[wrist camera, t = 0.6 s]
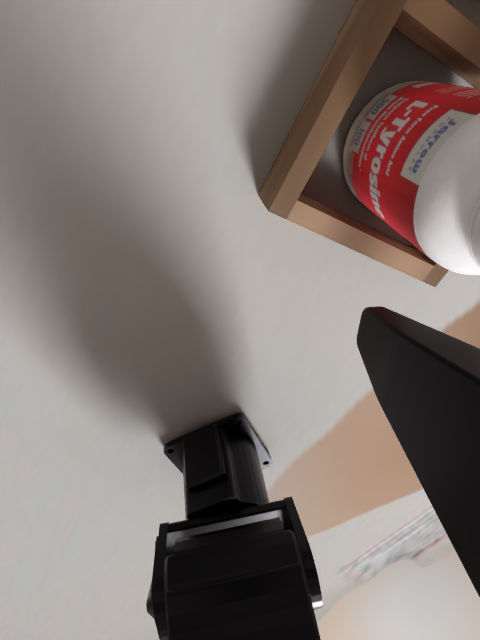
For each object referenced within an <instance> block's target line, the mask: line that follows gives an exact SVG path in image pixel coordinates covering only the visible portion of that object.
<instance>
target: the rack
mask: <svg viewBox="0 0 480 640" xmlns="http://www.w3.org/2000/svg"><path fill="white" fill-rule="evenodd" d="M393 27H394V28H396V29H397V30H398V31H400V32H401V33H402V34H404V35H405V36H406V37H408V38H409V39H410V40H412V41H413V42H414V43H416V44H417V45H419V46H420V47H421V48H423V49H424V50H425V51H427V52H428V53H429V54H431V55H432V56H433V57H435V58H436V59H437V60H439V61H440V62H441V63H443V64H444V65H445V66H447V67H448V68H449V69H451V70H452V71H453V72H455V73H456V74H458V75H459V76H460V77H462V78H463V79H464V80H466V81H467V82H468V83H470V84H471V85H472V86H474V87H475V88H476V89H480V29H479V28H478V27H477V26H476V25H475V24H473V23H472V22H471V21H470V20H469V19H467V18H466V17H465V16H464V15H463V14H461V13H460V12H459V11H458V10H456V9H455V8H454V7H453V6H452V5H450V4H449V3H448V2H447V1H446V0H356V2H355V4H354V6H353V8H352V10H351V12H350V14H349V16H348V18H347V20H346V22H345V24H344V26H343V28H342V30H341V32H340V34H339V36H338V38H337V40H336V42H335V44H334V46H333V48H332V50H331V52H330V54H329V56H328V58H327V60H326V62H325V64H324V66H323V68H322V70H321V72H320V74H319V76H318V78H317V80H316V81H315V83H314V85H313V87H312V89H311V91H310V93H309V95H308V97H307V99H306V101H305V103H304V105H303V107H302V109H301V111H300V113H299V115H298V117H297V119H296V121H295V123H294V125H293V127H292V129H291V131H290V133H289V135H288V137H287V139H286V141H285V143H284V145H283V147H282V149H281V151H280V153H279V155H278V157H277V159H276V161H275V163H274V165H273V167H272V169H271V171H270V173H269V175H268V176H267V178H266V180H265V182H264V184H263V186H262V188H261V190H260V192H259V194H258V196H259V197H260V199H261V200H262V202H263V203H264V205H265V206H266V208H267V210H268V211H269V212H271V213H274V214H276V215H278V216H280V217H282V218H285V219H287V220H289V221H291V222H293V223H296V224H298V225H300V226H302V227H304V228H307V229H309V230H311V231H313V232H315V233H318V234H320V235H322V236H324V237H326V238H329V239H331V240H333V241H335V242H337V243H339V244H342V245H344V246H346V247H348V248H350V249H353V250H355V251H357V252H359V253H361V254H364V255H366V256H368V257H370V258H372V259H375V260H377V261H379V262H381V263H383V264H386V265H388V266H390V267H392V268H394V269H396V270H399V271H401V272H403V273H405V274H407V275H410V276H412V277H414V278H416V279H418V280H421V281H423V282H425V283H427V284H429V285H432V286H434V287H436V286H437V284H438V283H439V282H440V281H441V279H442V278H443V277H444V276H445V274H446V273H447V272H448V271H449V270H448V269H446V268H444V267H442V266H440V265H439V264H437V263H436V262H434V261H433V260H432V259H430V258H429V257H428V256H426V255H425V254H424V253H423V252H421V251H420V250H419V249H418V248H417V247H415V246H414V245H413V246H412V248H411V247H409V246H407V245H405V244H403V243H401V242H399V241H397V240H395V239H393V238H391V237H389V236H387V235H384V234H382V233H380V232H378V231H376V230H374V229H372V228H370V227H368V226H366V225H364V224H362V223H360V222H358V221H356V220H354V219H352V218H350V217H348V216H346V215H344V214H342V213H340V212H338V211H336V210H334V209H332V208H329V207H327V206H325V205H323V204H321V203H319V202H317V201H315V200H313V199H311V198H309V197H307V196H305V195H303V194H301V192H302V190H303V189H304V187H305V185H306V183H307V181H308V180H309V178H310V176H311V174H312V172H313V171H314V169H315V167H316V165H317V163H318V162H319V160H320V158H321V156H322V154H323V153H324V151H325V149H326V147H327V145H328V144H329V142H330V140H331V138H332V136H333V135H334V133H335V131H336V129H337V127H338V125H339V124H340V122H341V120H342V118H343V116H344V115H345V113H346V111H347V109H348V107H349V106H350V104H351V102H352V100H353V98H354V97H355V95H356V93H357V91H358V89H359V88H360V86H361V84H362V82H363V80H364V79H365V77H366V75H367V73H368V71H369V70H370V68H371V66H372V64H373V62H374V61H375V59H376V57H377V55H378V53H379V51H380V50H381V48H382V46H383V44H384V42H385V41H386V39H387V37H388V35H389V33H390V32H391V30H392V28H393Z"/></svg>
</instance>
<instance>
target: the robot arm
mask: <svg viewBox="0 0 480 640" xmlns="http://www.w3.org/2000/svg"><path fill="white" fill-rule="evenodd" d="M357 346H358V349H359V351H360V354H361V357H362V359H363V362H364V365H365V367H366V370H367V373H368V375H369V378H370V381H371V383H372V386H373V389H374V391H375V394H376V396H377V399H378V401H379V403H380V405H381V407H382V408H383V411H384V413H385V415H386V417H387V418H388V420H389V422H390V424H391V426H392V428H393V430H394V432H395V434H396V436H397V438H398V440H399V442H400V444H401V446H402V448H403V450H404V452H405V453H406V455H407V457H408V459H409V461H410V463H411V465H412V467H413V469H414V471H415V472H416V475H417V477H418V479H419V481H420V483H421V484H422V486H423V488H424V490H425V492H426V494H427V496H428V498H429V500H430V502H431V504H432V506H433V508H434V510H435V512H436V514H437V516H438V517H439V519H440V521H441V523H442V525H443V527H444V529H445V531H446V533H447V535H448V537H449V539H450V541H451V543H452V545H453V547H454V549H455V550H456V552H457V554H458V556H459V558H460V560H461V562H462V564H463V566H464V568H465V570H466V572H467V574H468V576H469V578H470V579H471V581H472V583H473V585H474V587H475V589H476V591H477V593H478V595H479V597H480V349H479V348H477V347H475V346H472V345H470V344H467V343H465V342H463V341H461V340H458V339H456V338H454V337H451V336H449V335H447V334H445V333H442V332H440V331H438V330H435V329H433V328H431V327H428V326H426V325H424V324H421V323H419V322H417V321H414V320H412V319H410V318H407V317H405V316H403V315H401V314H398V313H396V312H394V311H391V310H389V309H387V308H384V307H380V306H379V307H367V308H365V309H364V310H363V312H362V315H361V320H360V324H359V329H358V334H357ZM237 420H238V421H237ZM164 454H165V455H166V456H167V457H168V458H169V459H170V460H171V461H172V463H173V464H174V465H175V466H176V467H177V468H178V469H179V470H180V471H181V472H182V474H183V476H184V494H185V513H186V520H184V521H179V522H174V523H169V522H167V523H162V524H160V528H159V536H157V539H156V542H155V558H154V567H153V577H152V582H151V586H150V590H149V594H148V598H147V612H148V613H149V614H150V615H151V616H152V617H153V618H154V619H155V623H156V627H157V631H158V635H159V639H160V640H320V636H319V631H318V627H317V622H316V618H315V614H314V610H315V609H319V608H322V596H321V590H320V584H319V579H318V575H317V571H316V566H315V563H314V559H313V555H312V552H311V549H310V546H309V543H308V540H307V537H306V535H305V532H304V529H303V526H302V524H301V521H300V519H299V515H298V513H297V510H296V507H295V505H294V502H293V499H292V497H287V498H284V500H280V501H275V502H271V503H269V499H268V495H267V491H266V487H265V482H264V478H263V474H262V470H261V469H263V468H265V467H268V466H270V465H271V464H272V460H271V456H270V455H269V453H268V452H267V450H266V449H265V447H264V446H263V444H262V442H261V441H260V439H259V438H258V436H257V435H256V433H255V432H254V430H253V429H252V427H251V425H250V424H249V422H248V421H247V419H246V418H245V416H244V415H243V414H241V413H237V414H234V415H232V416H229V417H227V418H225V419H222V420H220V421H218V422H215V423H213V424H211V425H208V426H206V427H204V428H201V429H199V430H197V431H194V432H192V433H190V434H187V435H185V436H183V437H180V438H178V439H176V440H173V441H171V442H169V443H167V444H165V445H164Z"/></svg>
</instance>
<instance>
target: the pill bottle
mask: <svg viewBox="0 0 480 640" xmlns="http://www.w3.org/2000/svg"><path fill="white" fill-rule="evenodd" d="M343 169H344V175H345V179H346V182H347V184H348V186H349V188H350V190H351V191H352V193H353V194H354V195H355V197H356V198H357V199H358V200H359V201H360V202H361V203H362V204H364V205H365V206H366V207H367V208H368V209H370V210H371V211H372V212H373V213H375V214H376V215H377V216H378V217H379V218H381V219H382V220H383V221H384V222H386V223H387V224H388V225H389V226H391V227H392V228H393V229H394V230H395V231H397V232H398V233H399V234H400V235H402V236H403V237H404V238H406V239H407V240H408V241H409V242H410V243H412V244H413V245H414V246H415V247H417V248H418V249H419V250H420V251H421V252H423V253H424V254H425V255H426V256H428V257H429V258H430V259H432V260H433V261H434V262H436V263H437V264H439V265H440V266H442V267H444V268H446V269H448V270H450V271H453V272H457V273H461V274H468V275H480V89H475V88H469V87H463V86H457V85H450V84H443V83H437V82H431V81H418V80H417V81H408V82H403V83H399V84H396V85H394V86H392V87H389V88H387V89H385V90H384V91H382V92H381V93H379V94H378V95H377V96H375V97H374V98H373V99H372V100H371V101H370V102H369V103H368V104H367V105H366V106H365V107H364V108H363V109H362V111H361V112H360V113H359V115H358V116H357V117H356V119H355V121H354V123H353V125H352V126H351V129H350V131H349V134H348V136H347V139H346V143H345V147H344V153H343Z"/></svg>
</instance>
